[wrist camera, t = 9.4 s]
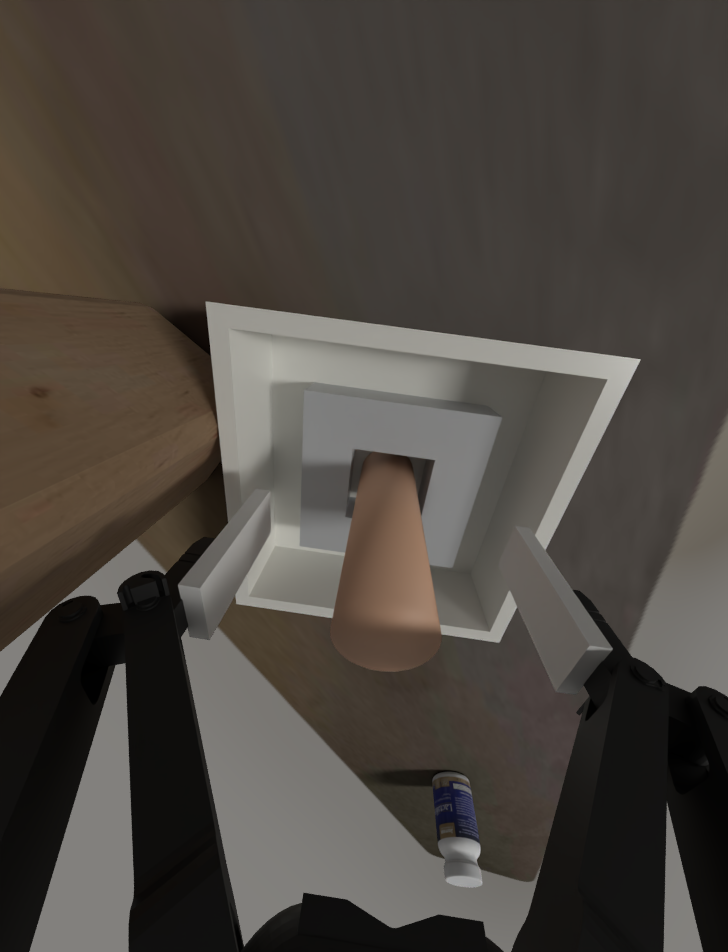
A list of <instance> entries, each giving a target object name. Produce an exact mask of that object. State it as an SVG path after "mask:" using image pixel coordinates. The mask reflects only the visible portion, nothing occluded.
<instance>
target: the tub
mask: <svg viewBox="0 0 728 952" xmlns="http://www.w3.org/2000/svg"><path fill="white" fill-rule="evenodd" d="M206 311H207V321H208V330H209V340H210V350H211V360H212V369H213V379H214V389H215V399H216V409H217V418H218V428H219V438H220V448H221V458H222V467H223V477H224V487H225V497H226V506H227V516H228V523H229V521H230V520H231V519H232V518H233V516H234V515H235V514H236V513H237V512H238V510H239V509H240V508H241V507H242V505H243V504H244V503H245V502H246V500H247V499H248V498H249V497H250V496H251V494H252V493H253V492H254V491H255V489H260V490H267V491H270V507H271V533H270V535H269V537H268V539H267V540H266V542H265V544H264V546H263V547H262V549H261V551H260V553H259V554H258V556H257V558H256V560H255V561H254V563H253V565H252V567H251V568H250V570H249V572H248V574H247V575H246V577H245V579H244V581H243V582H242V584H241V586H240V588H239V589H238V591H237V593H236V604H241V605H248V606H254V607H261V608H268V609H275V610H281V611H288V612H295V613H302V614H309V615H315V616H322V617H329V618H332V617H333V612H334V607H335V602H336V597H337V592H338V587H339V582H340V577H341V571H342V566H343V561H344V556H345V551H346V546H347V541H348V536H349V531H350V526H351V521H352V515H353V510H354V505H355V500H356V495H357V490H358V485H359V480H360V475H361V470H362V465H363V462H364V460H365V459H366V457H367V456H368V455H369V454H370V453H372V452H373V451H374V452H381V453H388V454H395V455H402V456H407V457H408V458H409V459H410V461H411V463H412V466H413V472H414V477H415V483H416V489H417V495H418V501H419V506H420V512H421V518H422V524H423V530H424V535H425V541H426V547H427V553H428V559H429V564H430V570H431V576H432V582H433V588H434V593H435V599H436V605H437V611H438V617H439V622H440V628H441V634H444V635H451V636H457V637H464V638H471V639H478V640H484V641H491V642H498V643H499V642H500V640H501V638H502V636H503V634H504V632H505V630H506V628H507V626H508V624H509V622H510V620H511V618H512V616H513V614H514V612H515V610H516V608H517V605H516V603H515V601H514V599H513V596H512V594H511V592H510V590H509V587H508V585H507V583H506V581H505V579H504V576H503V574H502V572H501V570H500V568H499V565H498V564H499V562H500V559H501V557H502V555H503V553H504V550H505V548H506V546H507V543H508V541H509V539H510V536H511V534H512V532H513V529H514V527H515V526H520V527H528V528H530V529H531V531H532V532H533V534H534V535H535V536H536V538H537V539H538V541H539V542H540V544H541V545H542V547H543V548H544V550H546V548H547V546H548V544H549V542H550V540H551V538H552V536H553V534H554V532H555V530H556V528H557V526H558V524H559V522H560V520H561V518H562V516H563V514H564V512H565V510H566V508H567V506H568V504H569V502H570V500H571V498H572V496H573V494H574V492H575V490H576V488H577V486H578V484H579V482H580V480H581V478H582V476H583V474H584V472H585V470H586V468H587V466H588V464H589V462H590V460H591V458H592V456H593V454H594V452H595V450H596V448H597V446H598V444H599V442H600V440H601V438H602V436H603V434H604V432H605V430H606V428H607V426H608V424H609V422H610V420H611V418H612V416H613V414H614V412H615V410H616V408H617V406H618V404H619V402H620V400H621V398H622V396H623V394H624V392H625V390H626V388H627V386H628V384H629V382H630V380H631V378H632V376H633V374H634V372H635V370H636V368H637V366H638V364H639V362H640V360H641V359H633V358H626V357H618V356H611V355H603V354H596V353H588V352H581V351H573V350H566V349H558V348H551V347H543V346H536V345H528V344H521V343H513V342H506V341H498V340H490V339H483V338H475V337H468V336H460V335H453V334H445V333H438V332H430V331H423V330H415V329H408V328H400V327H393V326H385V325H378V324H370V323H363V322H355V321H348V320H340V319H333V318H325V317H318V316H310V315H303V314H295V313H288V312H280V311H273V310H265V309H258V308H250V307H243V306H235V305H228V304H220V303H213V302H206Z"/></svg>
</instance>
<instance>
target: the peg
mask: <svg viewBox="0 0 728 952" xmlns="http://www.w3.org/2000/svg"><path fill="white" fill-rule="evenodd" d="M330 636H331V640H332V643H333V645H334V646H335V648H336V649H337V651H338V652H339V653H340V654H341V655H342V656H343V657H345V658H346V659H347V660H349V661H351V662H352V663H354V664H356V665H359V666H361V667H364V668H367V669H371V670H376V671H386V672H393V671H403V670H408V669H412V668H415V667H417V666H420V665H422V664H424V663H425V662H427V661H428V660H430V659H431V658H432V657H433V656H434V655H435V654H436V652H437V651H438V649H439V647H440V645H441V640H442V634H441V628H440V622H439V617H438V611H437V605H436V599H435V593H434V588H433V582H432V576H431V570H430V564H429V559H428V553H427V547H426V541H425V535H424V530H423V524H422V518H421V512H420V506H419V501H418V495H417V489H416V483H415V477H414V472H413V466H412V463H411V461H410V459H409V458H408V457H407V456H402V455H395V454H388V453H381V452H374V451H373V452H372V453H370V454H369V455H368V456H367V457H366V459H365V460H364V462H363V465H362V470H361V475H360V480H359V485H358V490H357V495H356V500H355V505H354V510H353V515H352V521H351V526H350V531H349V536H348V541H347V546H346V551H345V556H344V561H343V566H342V571H341V577H340V582H339V587H338V592H337V597H336V602H335V607H334V612H333V617H332V622H331V627H330Z"/></svg>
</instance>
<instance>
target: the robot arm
mask: <svg viewBox="0 0 728 952" xmlns="http://www.w3.org/2000/svg"><path fill="white" fill-rule="evenodd" d="M270 533H271V507H270V491H267V490H260V489H255V491H254V492H253V493H252V494H251V496H250V497H249V498H248V499H247V500H246V502H245V503H244V504H243V505H242V507H241V508H240V509H239V510H238V512H237V513H236V514H235V515H234V516H233V518H232V519H231V520H230V521H229V523H228V524H227V525H226V526H225V527H224V529H223V530H222V531H221V532H220V534H219V535H218V536H217V537H216V539H214V538H207V537H203V538H202V539H200V540H198V541H197V542H195V543H193V544H192V545H191V546H190V548H189V549H188V550H187V551H186V552H185V554H183V555H182V556H181V558H180V559H179V561H177V562H176V563H175V564H174V565H173V566H172V568H171V569H170V570H169V571H168V572H167V573H166V574H165V575H164V574H163V573H161V572H159V571H145V572H141V573H138V574H136V575H133V576H131V577H130V578H128V579H127V580H125V581H124V582H123V583H122V584H121V585H120V587H119V589H118V592H117V594H118V597H119V600H120V603H114V604H106V605H100V604H99V602H98V600H97V599H96V598H95V597H92V596H79V597H76V598H72V599H69V600H67V601H65V602H63V603H61V604H59V605H58V606H56V607H55V608H54V609H52V610H51V611H50V612H49V614H48V615H47V616H46V617H45V619H44V621H43V622H42V624H41V626H40V628H39V629H38V631H37V633H36V635H35V636H34V638H33V640H32V642H31V643H30V645H29V647H28V649H27V651H26V652H25V654H24V656H23V657H22V659H21V661H20V663H19V664H18V666H17V668H16V670H15V671H14V673H13V675H12V677H11V679H10V680H9V682H8V684H7V686H6V687H5V689H4V691H3V693H2V695H1V696H0V952H29V951H30V947H31V944H32V941H33V937H34V934H35V930H36V927H37V924H38V921H39V917H40V914H41V911H42V907H43V904H44V901H45V897H46V894H47V891H48V887H49V884H50V881H51V878H52V874H53V871H54V868H55V864H56V861H57V858H58V854H59V851H60V847H61V844H62V841H63V838H64V834H65V831H66V828H67V824H68V821H69V818H70V814H71V811H72V808H73V804H74V801H75V798H76V794H77V791H78V788H79V784H80V781H81V778H82V774H83V771H84V768H85V765H86V761H87V758H88V754H89V751H90V748H91V745H92V741H93V738H94V735H95V731H96V728H97V725H98V721H99V718H100V715H101V711H102V708H103V705H104V701H105V698H106V695H107V691H108V688H109V685H110V682H111V678H112V675H113V671H114V668H115V665H117V664H123V663H126V685H127V686H126V688H127V713H128V737H129V738H128V739H129V763H130V764H129V765H130V790H131V815H132V841H133V867H134V899H133V903H132V906H131V910H130V917H129V952H503V951H502V950H501V949H500V948H499V947H498V946H497V945H496V944H495V943H493V942H492V941H491V940H490V939H488V938H487V937H485V930H484V924H483V922H481V921H475V920H469V919H462V918H456V917H451V916H444V915H436V916H433V917H430V918H427V919H424V920H421V921H418V922H415V923H412V924H409V925H405V926H402V927H399V928H391V927H389V926H387V925H385V924H384V923H382V922H381V921H379V920H378V919H376V918H375V917H373V916H371V915H370V914H368V913H367V912H365V911H364V910H362V909H361V908H359V907H357V906H356V905H354V904H353V903H351V902H350V901H348V900H345V899H339V898H332V897H327V896H321V895H314V894H308V893H304V894H303V899H302V903H300V904H297V905H294V906H290V907H289V908H287V909H285V910H283V911H281V912H279V913H278V914H277V915H275V916H274V917H272V918H271V919H270V920H268V921H267V922H266V923H265V924H264V925H263V926H262V927H261V928H260V929H259V930H258V931H257V932H256V933H255V934H254V935H253V937H252V938H251V939H250V940H249V941H248V943H247V944H246V945H245V946H244V945H243V940H242V935H241V930H240V925H239V920H238V916H237V910H236V905H235V900H234V896H233V891H232V887H231V882H230V878H229V874H228V869H227V864H226V860H225V854H224V849H223V844H222V839H221V834H220V829H219V825H218V819H217V814H216V810H215V804H214V799H213V794H212V789H211V785H210V779H209V774H208V769H207V765H206V760H205V755H204V749H203V745H202V740H201V734H200V729H199V725H198V719H197V714H196V710H195V705H194V700H193V695H192V690H191V685H190V680H189V675H188V670H187V665H186V660H185V655H184V650H183V645H182V640H181V636H182V635H183V633H184V632H185V630H186V629H187V627H188V631H189V636H190V637H194V638H200V639H207V640H210V638H211V637H212V635H213V633H214V631H215V630H216V628H217V626H218V624H219V623H220V621H221V619H222V617H223V616H224V614H225V612H226V610H227V609H228V607H229V605H230V603H231V602H232V600H233V598H234V596H235V595H236V593H237V591H238V589H239V588H240V586H241V584H242V582H243V581H244V579H245V577H246V575H247V574H248V572H249V570H250V568H251V567H252V565H253V563H254V561H255V560H256V558H257V556H258V554H259V553H260V551H261V549H262V547H263V546H264V544H265V542H266V540H267V539H268V537H269V535H270ZM498 565H499V568H500V570H501V572H502V574H503V576H504V579H505V581H506V583H507V585H508V587H509V590H510V592H511V594H512V596H513V599H514V601H515V603H516V605H517V607H518V610H519V612H520V614H521V616H522V618H523V621H524V623H525V625H526V627H527V629H528V632H529V634H530V636H531V638H532V641H533V643H534V645H535V647H536V649H537V652H538V654H539V656H540V658H541V660H542V663H543V665H544V667H545V669H546V672H547V674H548V676H549V678H550V680H551V683H552V685H553V687H554V689H555V691H556V692H561V693H567V694H574V695H576V694H577V693H578V692H579V691H580V689H581V688H582V687H583V686H585V688H586V690H587V692H588V694H589V698H588V699H587V700H586V701H585V702H584V704H583V705H582V706H581V707H580V708H579V710H578V711H577V712H576V713H577V714H578V715H580V714H581V713H582V712H583V713H582V716H581V720H580V724H579V728H578V731H577V735H576V739H575V742H574V746H573V750H572V754H571V757H570V761H569V765H568V769H567V772H566V776H565V780H564V784H563V787H562V791H561V795H560V798H559V802H558V806H557V810H556V813H555V817H554V821H553V825H552V828H551V832H550V836H549V839H548V843H547V847H546V851H545V854H544V858H543V862H542V866H541V869H540V873H539V877H538V880H537V885H536V888H535V892H534V896H533V899H532V903H531V907H530V910H529V913H528V916H527V918H526V921H525V923H524V924H523V926H522V928H521V930H520V931H519V933H518V935H517V938H516V940H515V943H514V945H513V948H512V951H511V952H663V948H664V947H663V946H664V902H665V856H666V811H667V807H666V806H667V803H668V807H669V811H670V816H671V820H672V824H673V828H674V832H675V837H676V841H677V845H678V849H679V853H680V857H681V861H682V865H683V870H684V874H685V878H686V882H687V886H688V890H689V894H690V899H691V902H692V907H693V911H694V915H695V920H696V924H697V928H698V932H699V936H700V940H701V944H702V948H703V952H728V697H727V696H725V695H724V694H722V693H720V692H718V691H717V690H714V689H712V688H709V687H706V686H699V687H698V688H697V689H696V690H694V691H693V692H692V693H690V692H687V691H685V690H682V689H680V688H678V687H675V686H673V685H670V684H668V683H665V681H664V680H663V678H662V677H661V676H660V675H659V674H658V673H657V672H656V671H655V670H654V669H653V668H652V667H650V666H649V665H647V664H646V663H644V662H642V661H640V660H638V659H636V658H633V657H632V656H631V655H630V654H629V652H628V651H627V650H626V648H625V647H624V645H623V644H622V643H621V641H620V640H619V639H618V637H617V636H616V634H615V633H614V632H613V630H612V629H611V628H610V626H609V625H608V623H606V621H605V619H604V618H603V617H602V615H601V614H599V611H598V610H597V608H596V607H595V606H594V604H593V603H592V602H591V600H589V599H588V598H587V597H586V596H585V595H584V594H583V593H581V592H580V591H578V590H572V589H571V587H570V586H569V584H568V583H567V582H566V580H565V579H564V577H563V576H562V574H561V573H560V571H559V570H558V568H557V567H556V566H555V564H554V563H553V561H552V560H551V558H550V557H549V555H548V554H547V552H546V551H545V550H544V548H543V547H542V545H541V544H540V542H539V541H538V539H537V538H536V536H535V535H534V534H533V532H532V531H531V529H530V528H528V527H520V526H515V527H514V529H513V532H512V534H511V536H510V539H509V541H508V543H507V546H506V548H505V550H504V553H503V555H502V557H501V559H500V562H499V564H498Z"/></svg>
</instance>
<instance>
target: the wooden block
mask: <svg viewBox="0 0 728 952" xmlns="http://www.w3.org/2000/svg"><path fill="white" fill-rule="evenodd" d="M221 460H222V458H221V448H220V438H219V428H218V418H217V409H216V399H215V389H214V379H213V369H212V360H211V356H210V355H209V354H207V353H206V352H205V351H204V350H203V349H201V348H200V347H199V346H198V345H197V344H195V343H194V342H193V341H192V340H191V339H189V338H188V337H187V336H186V335H185V334H183V333H182V332H181V331H180V330H179V329H177V328H176V327H175V326H174V325H173V324H171V323H170V322H169V321H168V320H167V319H165V318H164V317H163V316H162V315H161V314H159V313H158V312H157V311H156V310H154V309H153V308H152V307H149V306H147V305H144V304H141V303H136V302H126V301H117V300H107V299H98V298H88V297H78V296H69V295H59V294H50V293H40V292H30V291H21V290H11V289H2V288H0V651H2V650H3V649H4V648H5V647H6V646H8V645H9V644H10V643H11V642H12V641H14V640H15V639H16V638H17V637H18V636H20V635H21V634H22V633H23V632H24V631H26V630H27V629H28V628H29V627H30V626H32V625H33V624H34V623H35V622H36V621H38V620H39V619H40V618H41V617H42V616H44V615H45V614H46V613H47V612H49V611H50V610H51V609H52V608H53V607H55V606H56V605H57V604H58V603H59V602H60V601H62V600H63V599H64V598H65V597H66V596H68V595H69V594H70V593H71V592H73V591H74V590H75V589H76V588H77V587H79V586H80V585H81V584H82V583H83V582H85V581H86V580H87V579H88V578H89V577H91V576H92V575H93V574H94V573H95V572H97V571H98V570H99V569H100V568H101V567H102V566H104V565H105V564H106V563H108V561H110V560H111V559H112V558H113V557H115V556H116V555H117V554H118V553H120V552H121V551H122V550H123V549H124V548H126V547H127V546H128V545H129V544H130V543H131V542H133V541H134V540H135V539H136V538H138V537H139V536H140V535H141V534H142V533H144V532H145V531H146V530H147V529H149V528H150V527H151V526H152V525H153V524H155V523H156V522H157V521H158V520H159V519H161V518H162V517H163V516H164V515H165V514H167V513H168V512H169V511H170V510H171V509H173V508H174V507H175V506H176V505H177V504H179V503H180V502H181V501H182V500H183V499H185V498H186V497H187V496H188V495H189V494H191V493H192V492H193V491H194V490H195V489H197V488H198V487H199V486H200V485H202V484H203V483H204V482H205V481H206V480H207V479H208V478H209V476H210V475H211V474H212V472H213V471H214V469H215V468H216V467H217V465H218V464H219V463H220V461H221Z"/></svg>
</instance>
